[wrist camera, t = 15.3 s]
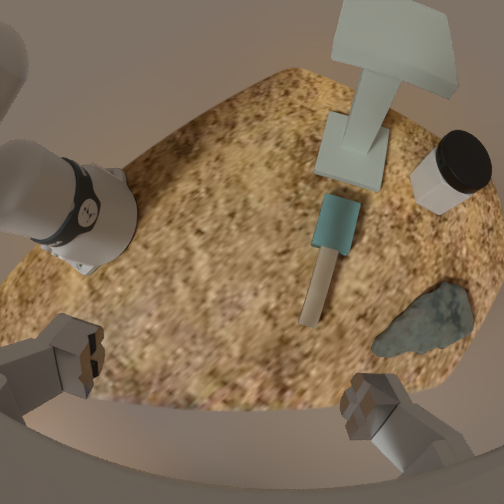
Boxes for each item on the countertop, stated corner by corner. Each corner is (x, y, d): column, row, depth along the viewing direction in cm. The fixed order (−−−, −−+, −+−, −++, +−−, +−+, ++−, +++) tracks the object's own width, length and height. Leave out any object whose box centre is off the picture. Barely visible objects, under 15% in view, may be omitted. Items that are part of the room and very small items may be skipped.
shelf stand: (313, 173, 43) (333, 42, 17) (328, 114, 44) (348, -18, 18) (377, 192, 41) (458, 86, 16) (387, 132, 42) (446, 14, 17)
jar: (432, 154, 41) (464, 118, 29) (462, 193, 39) (502, 167, 27) (398, 182, 41) (429, 147, 29) (431, 224, 39) (471, 202, 28)
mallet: (289, 319, 40) (288, 321, 37) (323, 199, 42) (325, 192, 39) (323, 329, 40) (326, 331, 37) (356, 209, 41) (360, 203, 38)
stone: (378, 378, 36) (364, 310, 37) (373, 371, 39) (359, 307, 40) (478, 337, 34) (468, 273, 35) (468, 334, 37) (458, 274, 38)
